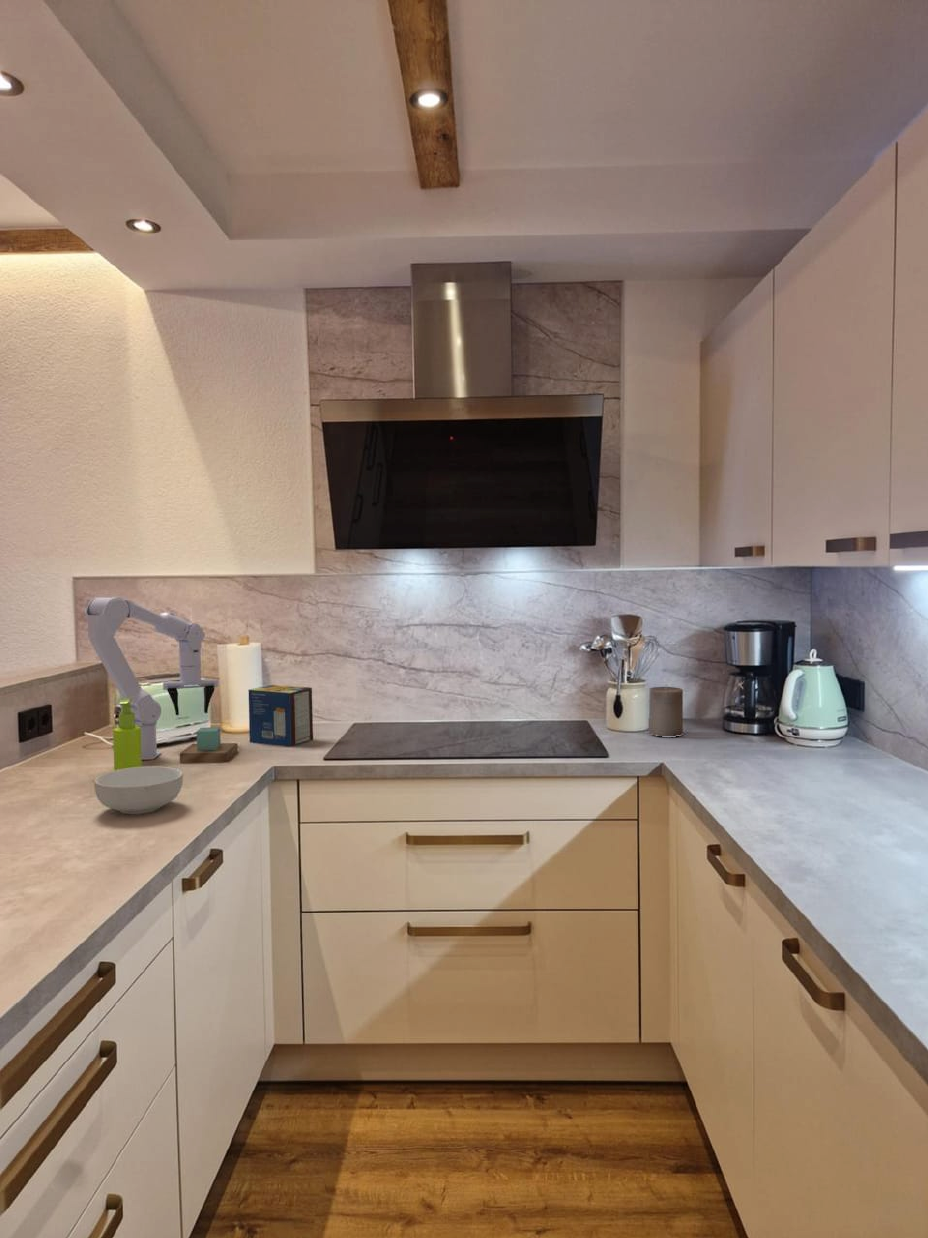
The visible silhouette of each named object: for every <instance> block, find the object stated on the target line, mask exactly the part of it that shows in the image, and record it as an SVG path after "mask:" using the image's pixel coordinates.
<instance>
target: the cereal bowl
mask: <svg viewBox="0 0 928 1238" xmlns="http://www.w3.org/2000/svg"><path fill="white" fill-rule="evenodd" d="M183 777H184V773H183V771H181V769H178V768H175V767H169V766H160V765H159V766H157V765H155V766H154V765H152V766H151V765H150V766H149V765H147V766H143V765H142V767H133V768H125V769H120V770H115V771H114V770H112V771H108V772H105V773H102V774H101V775H99V776H97V777H96V778H95V779H94V783H93V785H94V792H95V796H96V798H97V800H98V801H99V802H100V804H101V805H102V806H105V807H106V808H109V809H112V810H116V811H118V812H119V813H121V814H125V815H140V814H141V815H142V814H147V813H148V814H149V813H152V812H155V811H157V810H159V809H160V808H161V807H163V806H165V805H167V804H169V803H171V802H172V801H173V800H175V799H176V798H177V797H178V795H179V794H180V793H181V789H182V787H183V781H184V780H183V779H184V778H183Z"/></svg>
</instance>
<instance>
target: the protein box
mask: <svg viewBox="0 0 928 1238" xmlns="http://www.w3.org/2000/svg"><path fill="white" fill-rule="evenodd" d="M247 691H248V722H249V723H248V725H249V727H248V728H249V729H248V730H249V731H248V732H249V735H248V736H249V743H257V744H263V745H264V744H265V745H272V746H273V745H274V746H282V747H295V746H297V745H300V744H304V743H308V742H311V741H313V740H314V727H313V726H314V725H313V724H314V723H313V722H314V720H313V719H314V718H313V688H312V687H311V686H309V687H308V686H307V687H306V686H305V687H304V686H289V685H277V684H269V685H264V686H259V687H254V688H250V689H248V690H247Z"/></svg>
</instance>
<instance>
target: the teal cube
mask: <svg viewBox="0 0 928 1238" xmlns="http://www.w3.org/2000/svg"><path fill="white" fill-rule="evenodd" d="M221 743H222V741H221V727H217V726H215V727H214V726H213V727H211V726H210V727H200V728H199V729H198V730H197V731H196V744H197V750H217V749H218V748H219V747H220V746H221Z"/></svg>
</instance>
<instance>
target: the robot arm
mask: <svg viewBox="0 0 928 1238" xmlns="http://www.w3.org/2000/svg"><path fill="white" fill-rule="evenodd" d="M84 615H85V617H86V619H87V632H88V639H89V642H90V644H91V645H92V647H93V649H94V651H95V653H96V654H97V656H98V658H99V660H100V662H101V663H102V665H103V667H104V669H105V671H106V672H107V674H108V676H109V678H110V679H111V682H112V684H114V685H113V686H115V689H116V690H117V692H118V693H119V695H120V696H119V698H118V700H117V702H118V704H119V703H120V700H121V699H128V698H131V701H130V711H132V712H134V715H135V726H139V727H141V753H142V760H143V761H144V760H145V761H146V760H148V761H149V760H154V759H156V757H158V756H160V755H161V754H162V753H163V752H162V751H160V750H159V751H158V749H157V723H158V720H159V719H160V718H161V715H162V714H161V713H162V708H161V707H162V706H161V705H160V703H159V702H158V701H157V700H155V699H154V698H153V697H152V696H151V694H150V693H149V692H148V691H146V690H145V689H144V688H143V687H142V686H141V683H139V680H138V679H137V677H136V676H135V673H134V671H133V670H132V667H131V666H130V665H129V661H128V660H127V659H126V657H125V655H124V653H123V652H122V650H121V648H120V646H119V644H118V642H117V641H116V638H115V635H116V633H117V631H118V630H119V628H120V627H121V626H122V625H123V623H124V622H125V620H126V619H132V618H133V619H134V620H138V621H141V622H143V623H146V624H149V625H152V626H153V627H154V630H155V631H156V632H157V633H159V634H162V635H163V636H167V637H170V638H173V639H174V640H175V642H177V643H178V655H179V656H178V659H179V662H178V663H179V680H177V681H175V680H174V681H165V682H164V681H163V682H162V690H163V691H167V693H168V696H169V697H170V700H171V702H172V704H173V708H174V712H175V713H174V714H175V715H176V716H179V715H180V714H179V713H180V712H179V692H178V689H198V688H203V698H204V699H203V713H204V714H208V713H209V712H208V711H209V705H210V702H211V699H212V696H213V694H214V692H215V687H219V680H218V679H202V655H201V654H202V652H201V649H202V648H203V647H202V643H203V641H204V639H205V635H206V633H205V632H204V630H203V628H202V625H200V624H198V623H193V622H192V623H191V622H189V619H187V618H180V617H178V616H177V615H175V613H174V612H172V611H167V612H161V613H160V614H159V613H157V612H155V611H153V610H151V609H149V608H147V607H145V606H142V605H140V604H138V603H136V602H134V601H132V600H129V599H124V598H122V597H119V596H118V597H117V596H116V597H104V596H103V597H102V596H96V597H93V598H91V599H90V601H88V604H87V606H86V608H85V611H84ZM119 706H120V713H121V712H122V705H119Z"/></svg>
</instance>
